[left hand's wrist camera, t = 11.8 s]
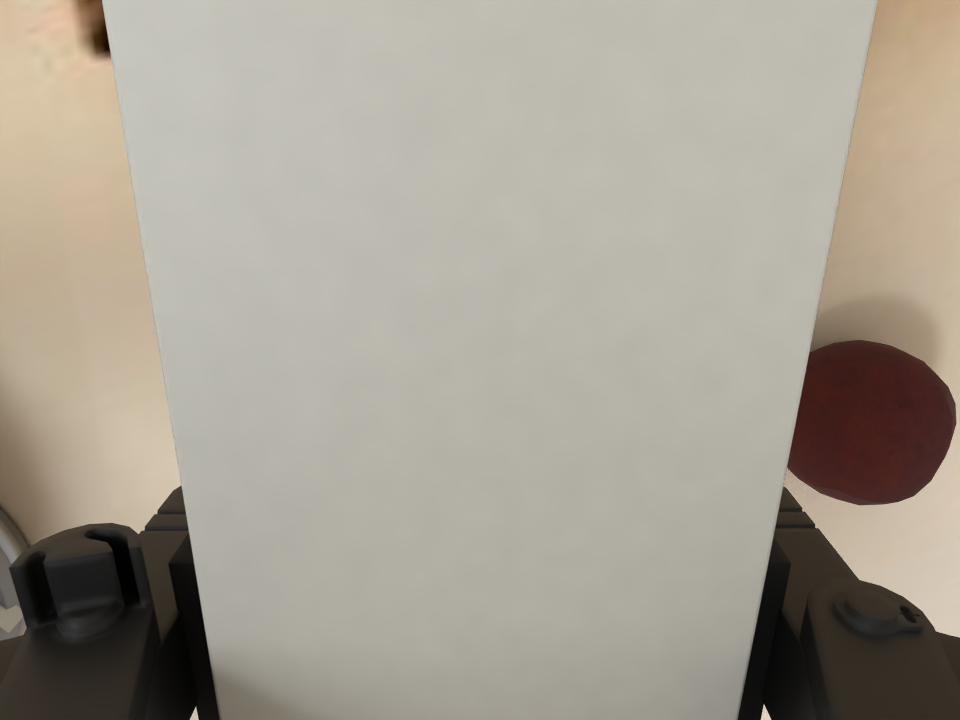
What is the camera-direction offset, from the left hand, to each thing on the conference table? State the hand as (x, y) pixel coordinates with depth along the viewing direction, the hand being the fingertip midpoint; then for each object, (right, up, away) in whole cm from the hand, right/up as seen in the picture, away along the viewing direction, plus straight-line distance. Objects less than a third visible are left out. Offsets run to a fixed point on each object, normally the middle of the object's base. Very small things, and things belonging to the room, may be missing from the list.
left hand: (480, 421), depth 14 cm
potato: (+18, 0, +21) cm, 27 cm away
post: (0, +32, -11) cm, 34 cm away
